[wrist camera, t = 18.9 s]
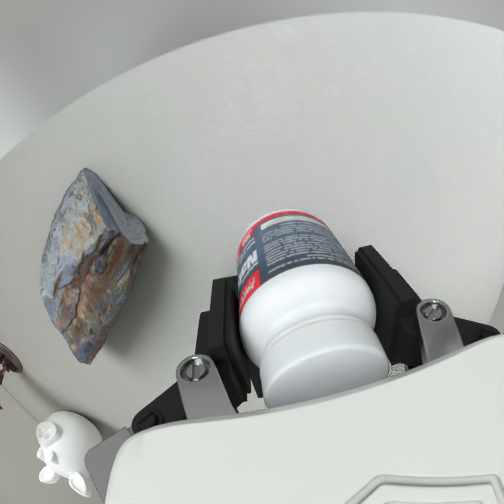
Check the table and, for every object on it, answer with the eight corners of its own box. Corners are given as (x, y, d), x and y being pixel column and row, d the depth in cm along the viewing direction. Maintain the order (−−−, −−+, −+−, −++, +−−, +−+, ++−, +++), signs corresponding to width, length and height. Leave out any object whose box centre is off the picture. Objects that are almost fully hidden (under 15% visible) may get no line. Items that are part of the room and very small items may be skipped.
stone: (55, 160, 16) (145, 242, 16) (95, 159, 21) (178, 227, 21) (20, 310, 22) (83, 378, 22) (49, 294, 27) (109, 354, 27)
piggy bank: (63, 389, 32) (33, 469, 19) (121, 428, 37) (105, 504, 23) (39, 403, 35) (15, 467, 22) (88, 436, 40) (73, 498, 26)
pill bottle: (232, 209, 14) (232, 338, 6) (334, 203, 14) (431, 310, 6) (240, 297, 17) (248, 437, 9) (328, 289, 17) (383, 414, 9)
